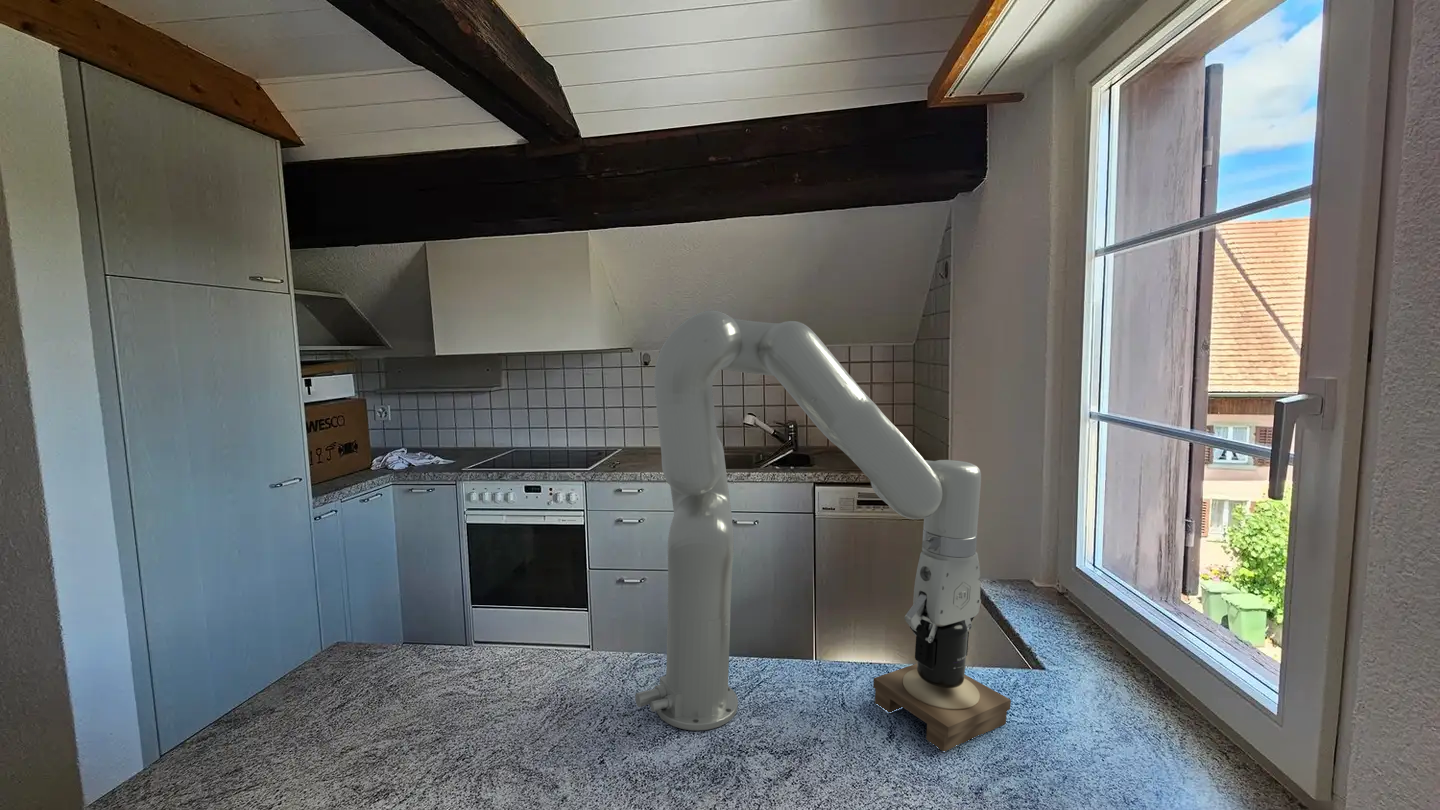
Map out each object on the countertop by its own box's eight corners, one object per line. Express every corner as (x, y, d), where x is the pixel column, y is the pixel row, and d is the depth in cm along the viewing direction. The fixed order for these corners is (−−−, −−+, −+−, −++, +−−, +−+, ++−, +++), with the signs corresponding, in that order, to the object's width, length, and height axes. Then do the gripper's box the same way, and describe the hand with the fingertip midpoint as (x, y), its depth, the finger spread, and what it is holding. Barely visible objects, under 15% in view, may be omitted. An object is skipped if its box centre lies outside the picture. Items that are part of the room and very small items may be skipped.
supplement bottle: (968, 692, 86) (974, 613, 85) (919, 686, 88) (924, 607, 87) (959, 668, 93) (964, 594, 92) (914, 663, 94) (918, 590, 93)
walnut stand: (946, 755, 81) (948, 725, 81) (872, 702, 93) (873, 676, 93) (1009, 725, 88) (1011, 697, 88) (932, 680, 100) (934, 655, 100)
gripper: (930, 559, 81) (921, 684, 82) (1007, 543, 90) (998, 656, 91) (888, 543, 87) (881, 659, 89) (964, 529, 96) (957, 635, 98)
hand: (941, 657), depth 90 cm, fingers closed on supplement bottle, 6 cm apart
